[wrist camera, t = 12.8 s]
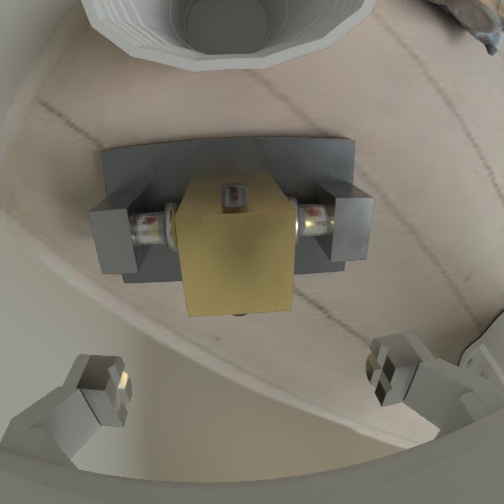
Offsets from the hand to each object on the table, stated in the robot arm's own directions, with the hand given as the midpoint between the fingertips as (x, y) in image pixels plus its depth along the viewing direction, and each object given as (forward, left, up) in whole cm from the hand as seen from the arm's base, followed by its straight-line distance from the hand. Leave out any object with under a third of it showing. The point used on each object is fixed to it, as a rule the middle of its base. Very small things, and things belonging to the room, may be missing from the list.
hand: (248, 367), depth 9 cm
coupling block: (+1, 0, -13) cm, 13 cm away
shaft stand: (+1, 0, -14) cm, 14 cm away
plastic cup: (+14, 0, -15) cm, 20 cm away
